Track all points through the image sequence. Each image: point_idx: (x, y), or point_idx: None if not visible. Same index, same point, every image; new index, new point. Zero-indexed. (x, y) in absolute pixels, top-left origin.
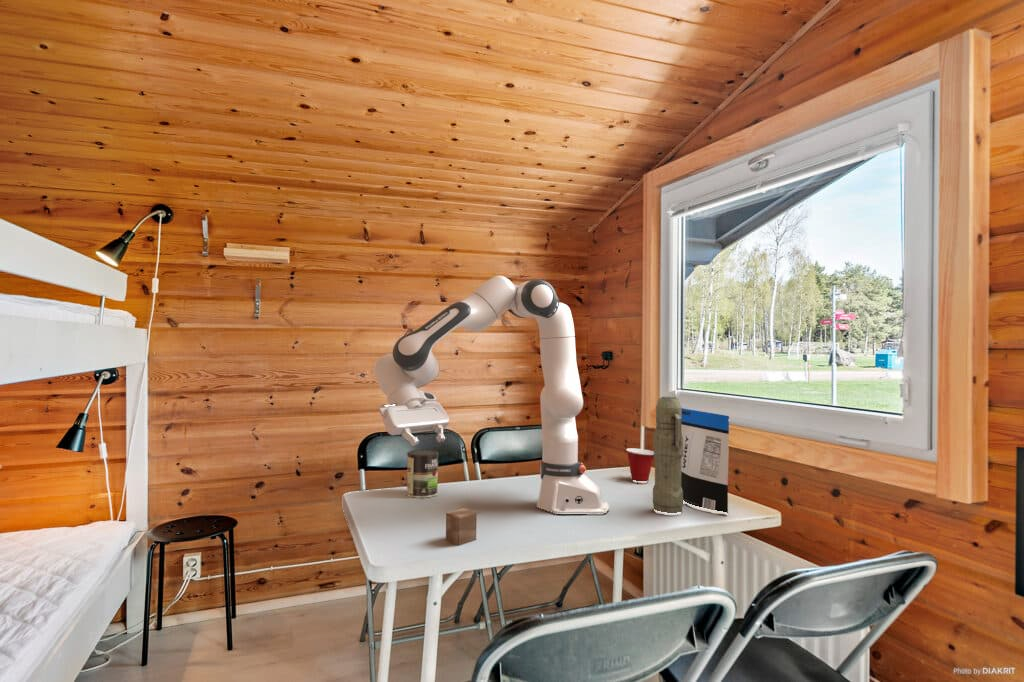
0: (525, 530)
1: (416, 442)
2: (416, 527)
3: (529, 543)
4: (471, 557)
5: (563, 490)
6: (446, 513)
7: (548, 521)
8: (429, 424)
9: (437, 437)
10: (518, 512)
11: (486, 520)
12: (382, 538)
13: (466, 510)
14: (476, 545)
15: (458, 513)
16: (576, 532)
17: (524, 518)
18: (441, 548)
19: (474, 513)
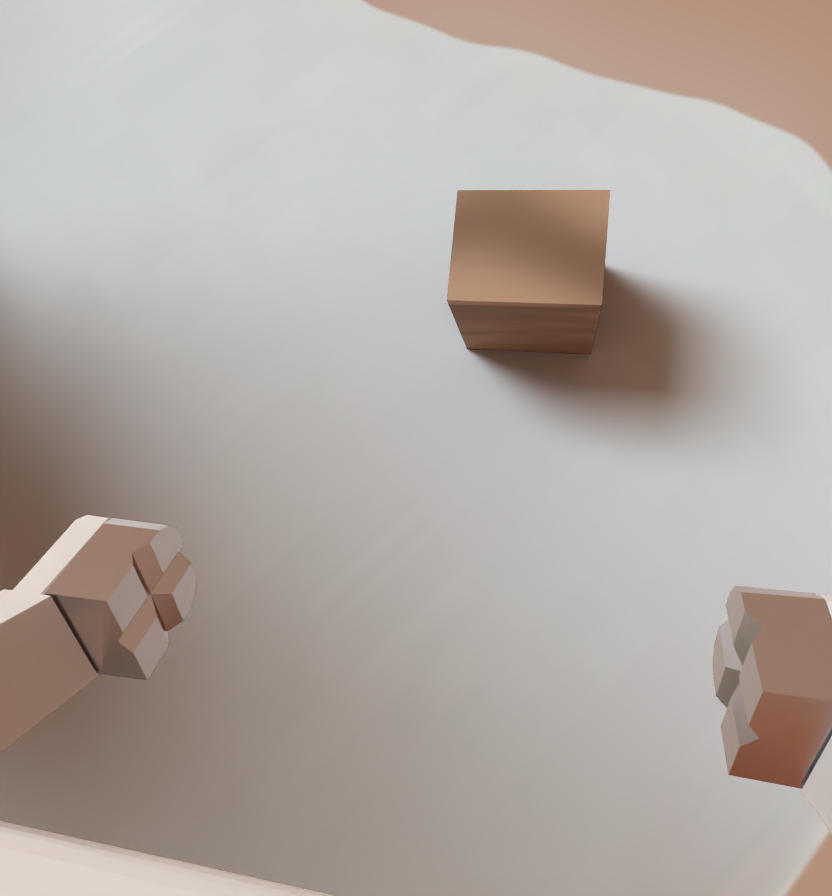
0: (229, 181)
1: (811, 594)
2: (516, 640)
3: (369, 58)
4: (682, 114)
5: None
6: (601, 303)
7: (64, 188)
8: (104, 847)
9: (149, 634)
10: (14, 381)
11: (204, 420)
12: None
13: (476, 251)
14: None
15: (560, 240)
16: (134, 12)
17: (81, 298)
18: (684, 298)
19: (477, 193)
